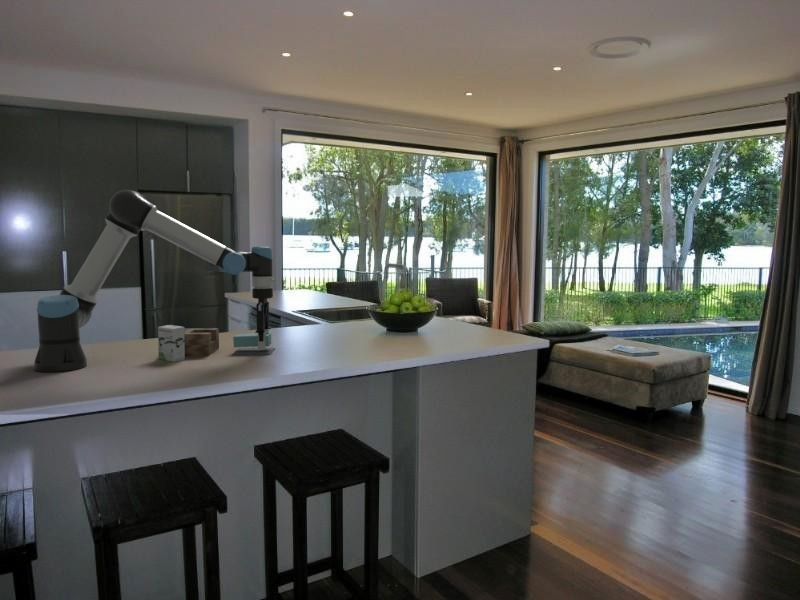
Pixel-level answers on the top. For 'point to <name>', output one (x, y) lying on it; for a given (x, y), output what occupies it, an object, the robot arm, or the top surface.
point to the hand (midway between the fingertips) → (263, 347)
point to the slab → (250, 340)
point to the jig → (201, 341)
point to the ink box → (171, 343)
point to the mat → (253, 351)
